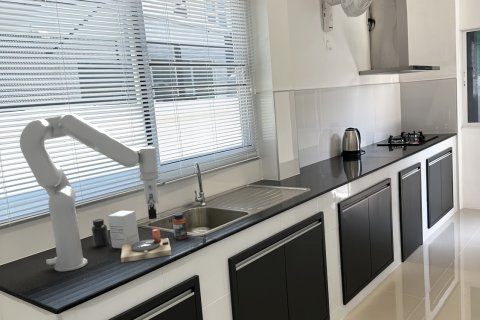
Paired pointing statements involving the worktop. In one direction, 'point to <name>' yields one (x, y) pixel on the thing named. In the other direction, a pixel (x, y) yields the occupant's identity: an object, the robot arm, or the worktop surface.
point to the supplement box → (123, 228)
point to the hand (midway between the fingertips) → (152, 216)
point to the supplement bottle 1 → (100, 233)
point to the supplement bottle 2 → (179, 226)
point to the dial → (148, 242)
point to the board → (145, 252)
